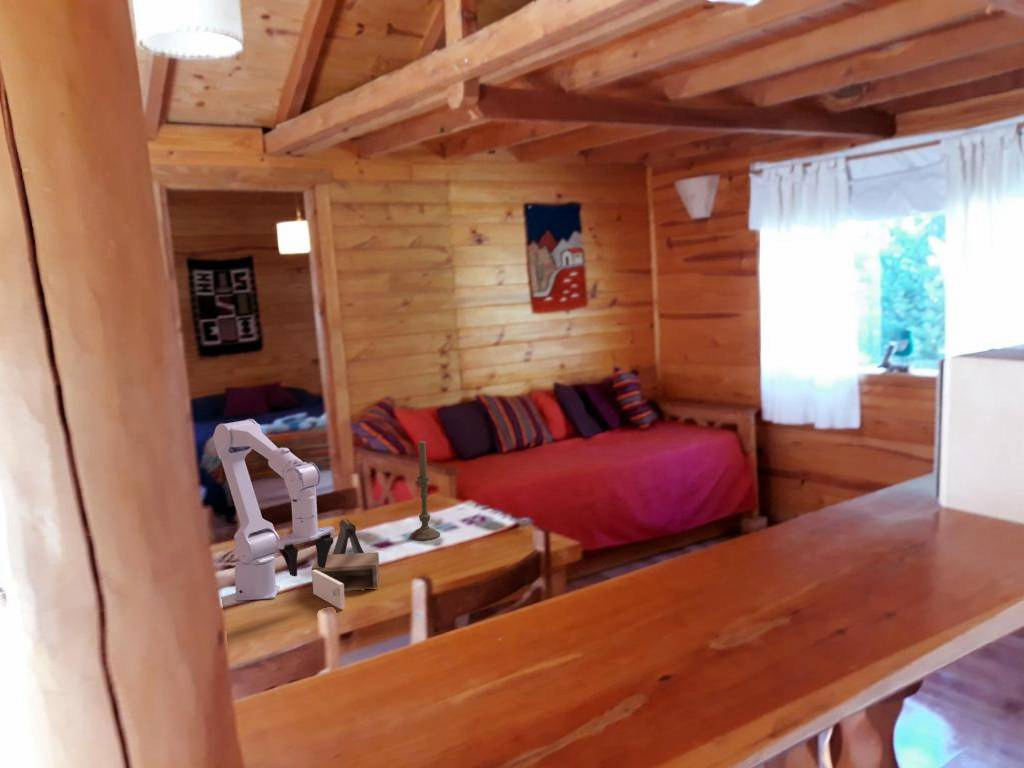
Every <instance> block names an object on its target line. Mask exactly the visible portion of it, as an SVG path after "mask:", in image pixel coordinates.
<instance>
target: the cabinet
mask: <svg viewBox="0 0 1024 768" xmlns="http://www.w3.org/2000/svg"><path fill="white" fill-rule="evenodd" d="M379 554H380V553H379V552H376V551H375V552H364V553H355V554H354V553H345V554H336V555H333V554H328V556H327V560H326V565H325V568H321V567H318V563H317V556H316V557H315V559H314V562H313V564H312V567H311V571H312V570H318V571H320V572H322V573H324V574H325V575H327V576H329V577H331V578H333V579H335V580H337V581H339V582H341V583H343V584H344V592H352V591H351V590H362V589H374V588H377V587H378V588H379V583H378V581H380V574H381V573H380V555H379ZM311 581H312V584H313V579H312V578H311ZM349 590H350V591H349ZM362 591H363V590H362Z"/></svg>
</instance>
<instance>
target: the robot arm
mask: <svg viewBox="0 0 1024 768" xmlns="http://www.w3.org/2000/svg"><path fill="white" fill-rule="evenodd" d="M212 440H213V443H214V446H215V450H216V453H217V456H218V459H219V460H221V463H222V467H223V470H224V474H225V477H226V480H227V483H228V487H229V491H230V493H231V497H232V501H233V502H234V503H233V504H234V506H235V509H236V512H237V516H238V519H239V523H240V527H238V530H237V531H236V533H234V536H233V538H234V542H235V555H236V557H237V558H238V559H239V560H238V561H236V562H235V565H234V585H235V601H252V600H269V599H275V598H276V596H277V593H278V592H279V590H280V588H281V586H280V585H276V582H277V581H276V570H275V567H276V566H275V559H276V558H277V553H279V552H280V555H282V557H283V559H284V561H285V563H286V566H287V569H288V572H289V575H290V576H292V577H295V578H296V577H297V576H298V565H297V564H298V555H299V549H297V548H295V546H296V545H299V544H303V543H307V542H310V541H314V544H315V549H316V557H317V563H318V567H321V568H325V565H326V560H327V556H328V555H329V553H330V550H331V548H332V545H333V543H334V538H333V537H332V536H335V535H336V534H335V527H333V526H330V525H329V526H323V527H318V526H319V523H318V507H317V488H316V487H317V486H319V484H320V483H321V479H322V478H321V477H322V476H321V472H320V470H319V468H318V466H317V465H316V464H315V463H314V462H307V461H304V462H303V460H301V459H300V458H299V457H297V456H296V455H295V454H293V452H291V451H290V449H289V448H288V447H279V448H278V446H277V445H276V444H274V443H273V442H272V440H270V439H269V438H268V436H266V435H265V434H264V433H263V432H262V427H261V425H260V424H259V423H257V421H255V419H252V418H248V419H245V420H239V421H234V422H228V423H219V424H218V425H217V426H216V427H215V430H214V432H213V436H212ZM252 450H254V451H255V452H256V453H258V454H260V455H262V457H264V458H265V459H267V460H268V461H267V462H268V467H269V468H270V469H272V470H273V471H274V472H275V473H276V474H278V475H279V476H280V477H281V478H282V479H284V480H283V481H284V484H285V486H286V489H287V491H288V497H289V498H290V499H291V500H290V501H291V502H290V503H291V518H292V533H291V534H288V535H286V536H283V537H281V538H280V535H279V534H278V533H277V531H276V530H275V527H274V524H273V523H272V522H270V521H268V520H266V519H264V518H263V517H262V513H261V512H262V511H261V509H260V506H259V503H258V499H257V496H256V494H255V490H254V487H253V483H252V481H251V477H250V474H249V471H248V470H249V469H248V468H247V465H246V461H245V459H246V457H247V455H248V454H249V453H251V451H252ZM251 534H252V535H251Z"/></svg>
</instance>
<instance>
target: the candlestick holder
mask: <svg viewBox="0 0 1024 768" xmlns="http://www.w3.org/2000/svg"><path fill="white" fill-rule="evenodd" d="M417 443H418V469H419V470H418V471H419V475H417V476H416V479H417V480H418V483H417V486H418V487H419V488H420V498H421V514H419V515H418V518H419V521H420V522H421V526H420V527H419V528H417V529H415V530H414V531H413V532H411V533H410V538H411V539H412V540H416V541H421V542H422V541H433V540H436V539H438V538H439V537H441V532H439V531H438V530H437V529H435V528H433V527H430V525H429V521H430V520H431V514H430V513H429V512H428V510H427V505H428V504H427V500H428V499H427V498H428V491H427V488H428V487H429V485H430V482H429V479H431V477H430V476H429V475H428V472H427V452H426V451H427V449H426V448H427V446H426V445H427V444H426V443H427V442H426V441H424V440H420V441H418V442H417ZM432 539H433V540H432Z"/></svg>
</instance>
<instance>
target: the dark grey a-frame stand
mask: <svg viewBox="0 0 1024 768" xmlns="http://www.w3.org/2000/svg"><path fill="white" fill-rule="evenodd" d="M338 524H339V531H338V536H337V540H336V542H335V545H334V549H333V553H332V555H336V554H346V551H347V547H348V543H349V541H350V543H351V547H352V550H353V554H355V553H365V552H364V550H363V548H362V546H361V543H360V541H359V539H358V536H357V533H356V532H357V531H356V529H357V528H356V526H355V524H354V523H352V522H351V521H350V520H349V519H347V518H345V520H344V519H341V520H340V521H339V523H338Z"/></svg>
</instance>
